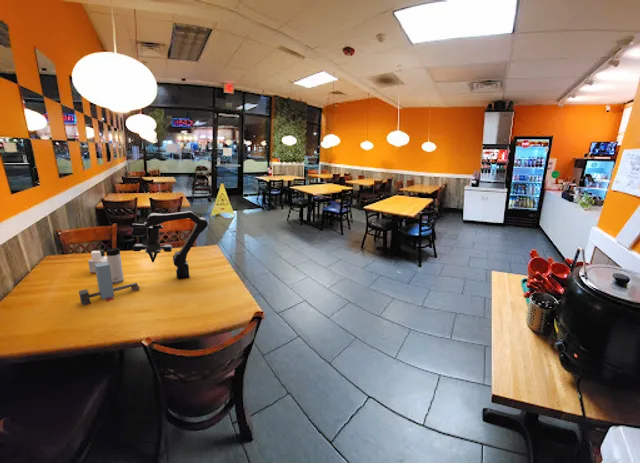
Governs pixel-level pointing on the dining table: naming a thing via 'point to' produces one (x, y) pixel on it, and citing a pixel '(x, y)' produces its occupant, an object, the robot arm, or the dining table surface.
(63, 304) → the dining table surface
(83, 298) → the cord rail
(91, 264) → the container
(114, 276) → the travel mug
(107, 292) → the sleeve
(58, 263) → the dining table surface
